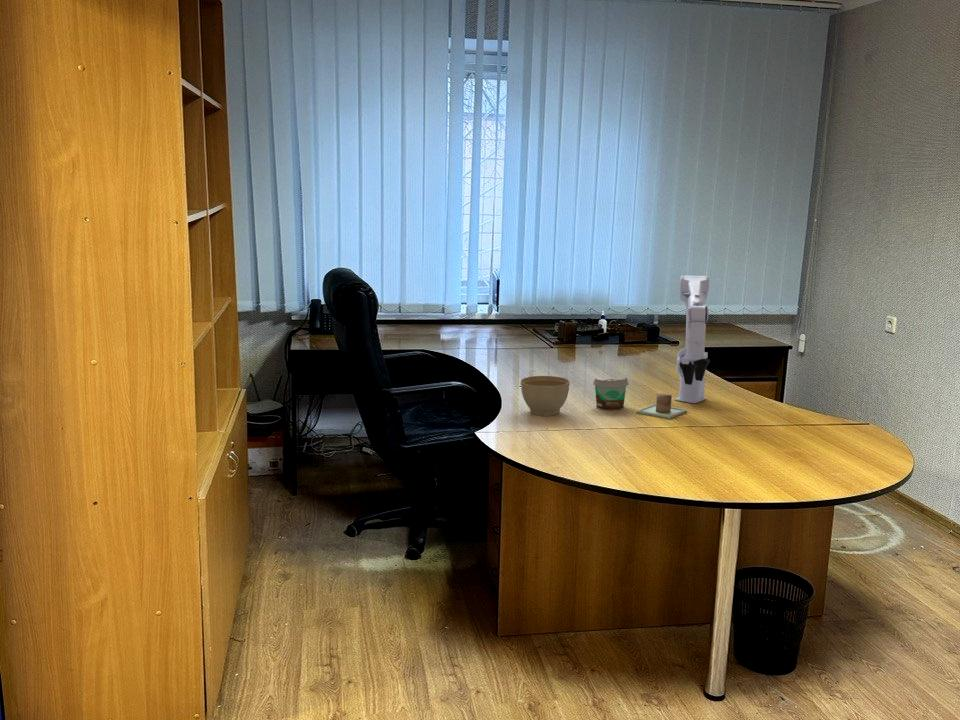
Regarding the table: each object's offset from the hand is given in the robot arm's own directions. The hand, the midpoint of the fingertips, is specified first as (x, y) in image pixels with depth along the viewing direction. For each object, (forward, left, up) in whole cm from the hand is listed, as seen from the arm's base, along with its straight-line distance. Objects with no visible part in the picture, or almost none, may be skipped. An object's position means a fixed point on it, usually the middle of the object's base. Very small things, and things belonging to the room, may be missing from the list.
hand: (693, 382), depth 293 cm
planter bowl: (+34, -36, -10) cm, 51 cm away
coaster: (+8, -7, -10) cm, 15 cm away
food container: (+14, -22, -10) cm, 28 cm away
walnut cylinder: (+8, -6, -9) cm, 14 cm away
